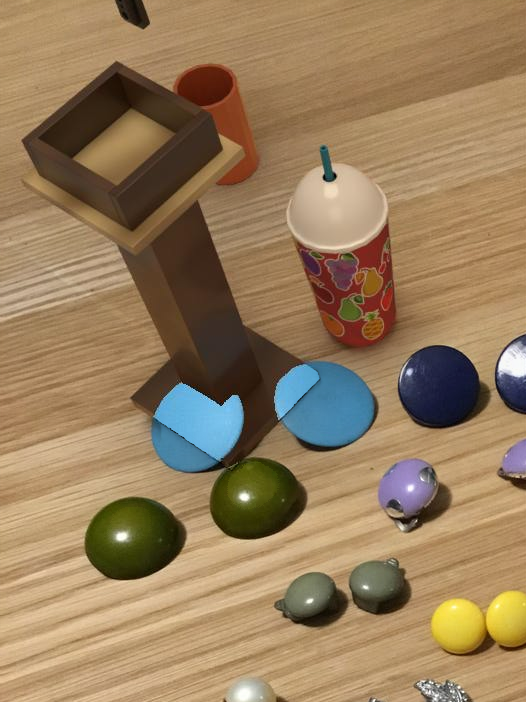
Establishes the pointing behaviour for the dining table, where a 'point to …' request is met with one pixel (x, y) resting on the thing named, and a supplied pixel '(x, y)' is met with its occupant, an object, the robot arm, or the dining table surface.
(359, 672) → the dining table surface
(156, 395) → the holder
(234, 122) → the cup
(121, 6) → the robot arm
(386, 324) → the smoothie
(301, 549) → the dining table surface
